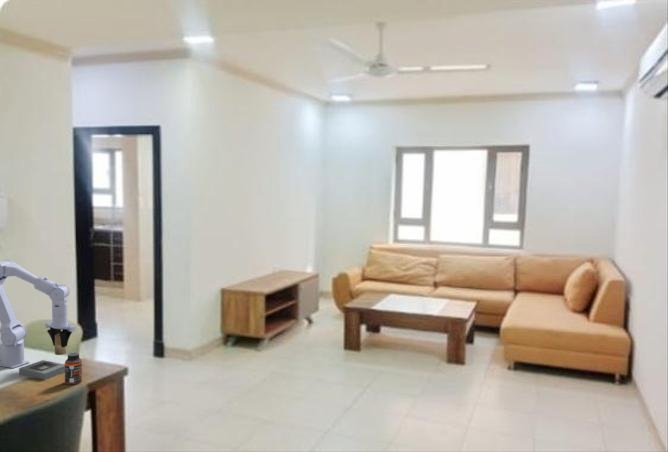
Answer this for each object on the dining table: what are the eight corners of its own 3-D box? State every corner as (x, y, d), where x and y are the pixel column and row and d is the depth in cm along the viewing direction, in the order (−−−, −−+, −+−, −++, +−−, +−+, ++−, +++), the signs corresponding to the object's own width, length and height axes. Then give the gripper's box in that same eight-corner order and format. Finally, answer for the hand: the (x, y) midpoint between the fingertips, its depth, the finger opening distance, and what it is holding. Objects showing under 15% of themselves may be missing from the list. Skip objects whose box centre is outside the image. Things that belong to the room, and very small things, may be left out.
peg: (52, 354, 224) (52, 335, 224) (60, 351, 228) (60, 333, 227) (59, 355, 223) (59, 336, 222) (67, 352, 227) (67, 334, 226)
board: (19, 374, 213) (18, 367, 213) (42, 365, 224) (42, 359, 223) (45, 379, 208) (44, 372, 208) (68, 370, 219) (67, 364, 218)
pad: (34, 370, 214) (34, 368, 214) (44, 366, 219) (44, 364, 219) (43, 371, 213) (43, 370, 213) (53, 368, 217) (53, 366, 217)
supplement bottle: (75, 386, 203) (74, 357, 202) (61, 384, 204) (61, 355, 203) (85, 380, 209) (85, 352, 208) (72, 379, 210) (71, 351, 209)
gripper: (80, 314, 225) (80, 345, 226) (54, 310, 230) (55, 341, 232) (66, 318, 219) (67, 350, 220) (40, 314, 224) (41, 345, 225)
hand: (60, 346), depth 225 cm, fingers closed on peg, 4 cm apart
